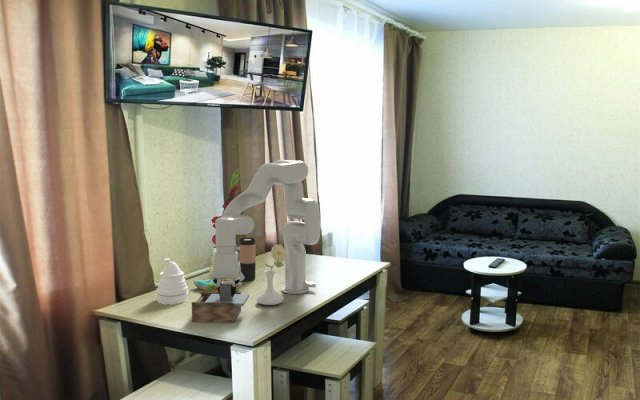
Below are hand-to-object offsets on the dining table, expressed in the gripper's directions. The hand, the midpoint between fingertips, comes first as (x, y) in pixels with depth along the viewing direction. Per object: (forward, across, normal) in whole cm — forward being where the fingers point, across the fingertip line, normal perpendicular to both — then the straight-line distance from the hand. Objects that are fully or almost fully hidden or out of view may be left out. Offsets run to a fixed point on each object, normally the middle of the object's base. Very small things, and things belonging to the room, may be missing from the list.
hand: (227, 295), depth 220 cm
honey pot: (+9, +28, -20) cm, 35 cm away
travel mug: (+9, +2, -55) cm, 56 cm away
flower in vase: (+9, -15, -18) cm, 25 cm away
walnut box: (+8, +4, 0) cm, 9 cm away
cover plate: (+2, 0, 0) cm, 2 cm away
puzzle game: (+9, +12, -36) cm, 39 cm away
